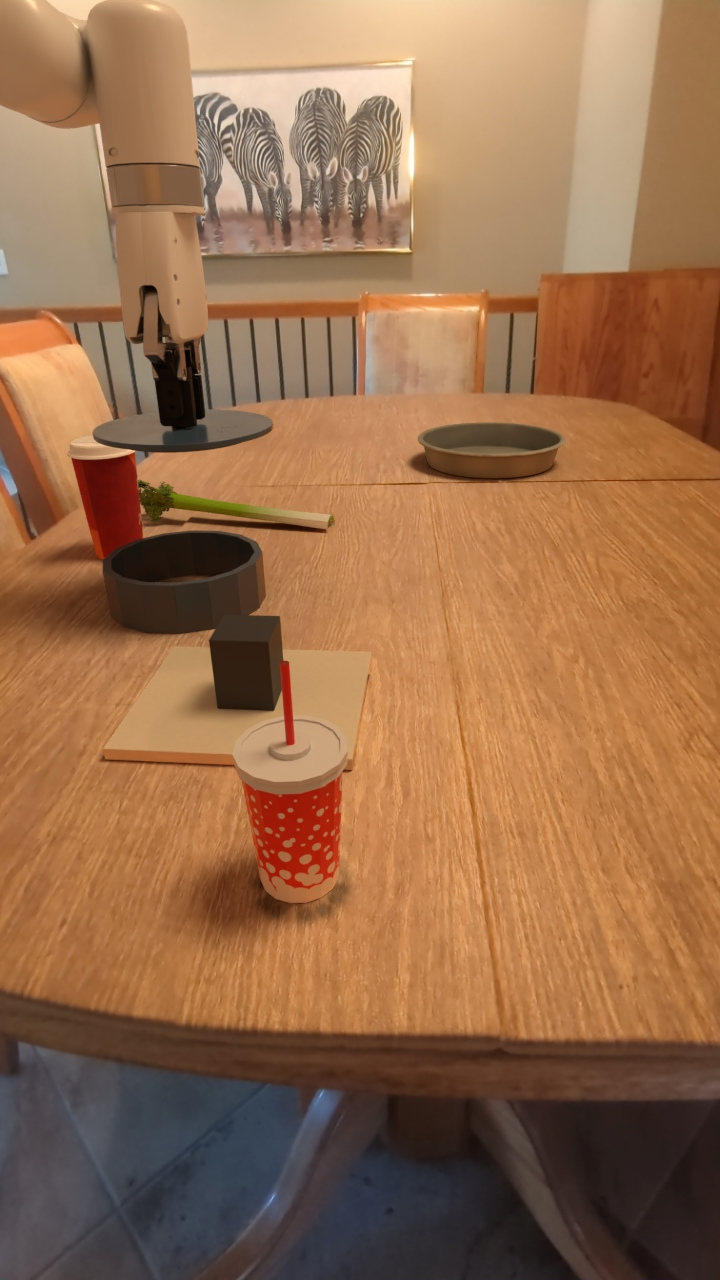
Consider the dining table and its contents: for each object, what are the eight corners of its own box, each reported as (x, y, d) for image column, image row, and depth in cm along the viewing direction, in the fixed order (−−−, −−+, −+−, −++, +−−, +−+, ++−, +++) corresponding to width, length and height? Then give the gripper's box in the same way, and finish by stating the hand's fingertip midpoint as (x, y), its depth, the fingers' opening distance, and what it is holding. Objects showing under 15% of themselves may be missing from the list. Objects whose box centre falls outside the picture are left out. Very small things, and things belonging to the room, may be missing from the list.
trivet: (104, 760, 54) (102, 748, 54) (174, 655, 69) (173, 645, 68) (352, 770, 53) (352, 759, 52) (372, 661, 67) (372, 651, 66)
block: (217, 709, 58) (208, 640, 56) (231, 680, 62) (224, 614, 60) (274, 711, 58) (268, 641, 55) (285, 681, 62) (280, 615, 59)
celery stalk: (322, 554, 96) (111, 521, 102) (337, 543, 102) (137, 512, 108) (326, 506, 94) (109, 476, 100) (341, 498, 100) (137, 469, 106)
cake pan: (387, 463, 130) (387, 436, 128) (480, 440, 145) (482, 416, 143) (499, 490, 114) (501, 461, 112) (592, 462, 128) (595, 435, 126)
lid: (63, 457, 65) (48, 380, 62) (133, 419, 80) (123, 356, 77) (252, 458, 63) (246, 380, 60) (288, 420, 78) (284, 355, 75)
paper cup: (166, 549, 94) (149, 435, 87) (124, 570, 88) (103, 449, 81) (116, 541, 97) (97, 430, 90) (73, 561, 91) (49, 444, 84)
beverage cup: (341, 920, 41) (331, 699, 34) (233, 906, 42) (204, 689, 35) (360, 842, 46) (356, 639, 40) (264, 832, 47) (244, 632, 41)
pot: (86, 636, 72) (75, 583, 70) (143, 575, 86) (136, 529, 84) (245, 641, 71) (240, 587, 68) (278, 578, 85) (274, 531, 82)
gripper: (146, 202, 70) (172, 407, 78) (71, 188, 56) (111, 440, 64) (225, 200, 69) (242, 407, 78) (169, 186, 55) (198, 441, 63)
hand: (183, 420), depth 71 cm, fingers closed on lid, 2 cm apart
